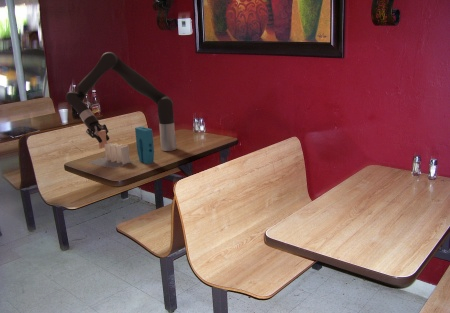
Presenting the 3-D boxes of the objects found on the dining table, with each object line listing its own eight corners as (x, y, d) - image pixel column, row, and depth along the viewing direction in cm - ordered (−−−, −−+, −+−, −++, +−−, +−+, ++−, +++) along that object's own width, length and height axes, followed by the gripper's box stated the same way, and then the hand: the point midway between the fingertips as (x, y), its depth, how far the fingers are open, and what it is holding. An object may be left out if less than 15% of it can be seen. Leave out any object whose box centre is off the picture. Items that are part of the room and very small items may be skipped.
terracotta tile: (99, 148, 273) (97, 131, 270) (105, 146, 276) (104, 129, 274) (100, 148, 272) (99, 132, 269) (107, 146, 276) (105, 130, 273)
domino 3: (116, 162, 267) (115, 146, 264) (123, 160, 271) (121, 144, 268) (118, 163, 267) (116, 146, 264) (124, 160, 270) (122, 144, 268)
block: (155, 163, 265) (153, 129, 259) (148, 165, 262) (145, 131, 256) (144, 159, 274) (142, 126, 268) (137, 160, 271) (134, 127, 265)
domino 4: (122, 164, 265) (120, 147, 262) (128, 161, 269) (127, 145, 266) (123, 164, 264) (122, 147, 261) (130, 162, 268) (128, 145, 265)
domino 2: (111, 161, 270) (109, 145, 267) (117, 159, 274) (116, 143, 271) (112, 162, 269) (111, 145, 266) (119, 159, 273) (117, 143, 270)
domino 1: (106, 160, 272) (104, 144, 269) (112, 158, 276) (110, 142, 273) (107, 160, 271) (105, 144, 269) (113, 158, 275) (112, 142, 272)
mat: (86, 163, 269) (86, 162, 269) (106, 156, 281) (106, 156, 281) (114, 169, 257) (114, 168, 257) (133, 162, 269) (133, 161, 268)
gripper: (81, 117, 267) (98, 139, 264) (100, 112, 278) (116, 134, 275) (76, 125, 272) (92, 147, 269) (96, 120, 283) (111, 141, 280)
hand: (104, 140), depth 272 cm, fingers closed on terracotta tile, 5 cm apart
